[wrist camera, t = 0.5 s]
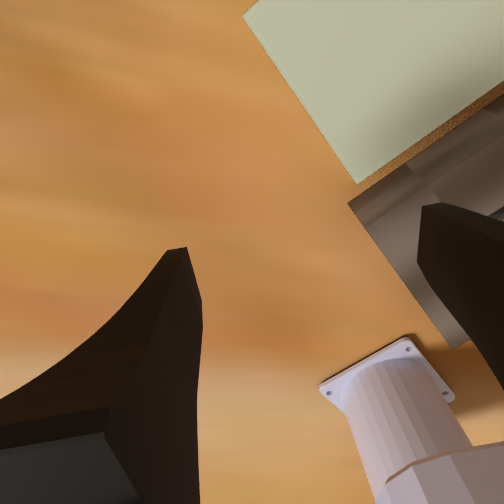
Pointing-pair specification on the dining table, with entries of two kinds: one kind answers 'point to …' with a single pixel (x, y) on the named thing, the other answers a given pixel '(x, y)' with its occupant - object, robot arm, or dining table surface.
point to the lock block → (436, 201)
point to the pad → (382, 67)
